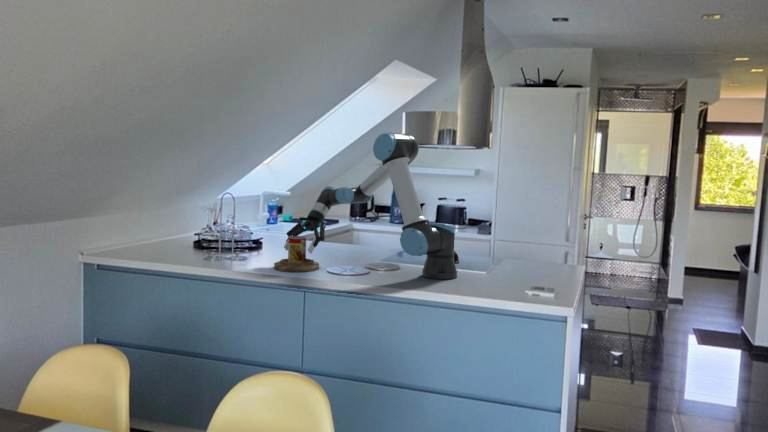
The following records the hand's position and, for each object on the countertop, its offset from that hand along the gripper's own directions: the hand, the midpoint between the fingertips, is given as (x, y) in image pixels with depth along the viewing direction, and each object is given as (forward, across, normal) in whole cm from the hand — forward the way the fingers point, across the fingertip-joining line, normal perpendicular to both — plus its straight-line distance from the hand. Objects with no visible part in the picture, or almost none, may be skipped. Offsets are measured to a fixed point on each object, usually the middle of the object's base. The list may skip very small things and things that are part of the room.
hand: (297, 250), depth 282 cm
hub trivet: (+6, 0, -6) cm, 8 cm away
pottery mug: (-35, -48, -47) cm, 76 cm away
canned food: (+5, 0, -4) cm, 6 cm away
